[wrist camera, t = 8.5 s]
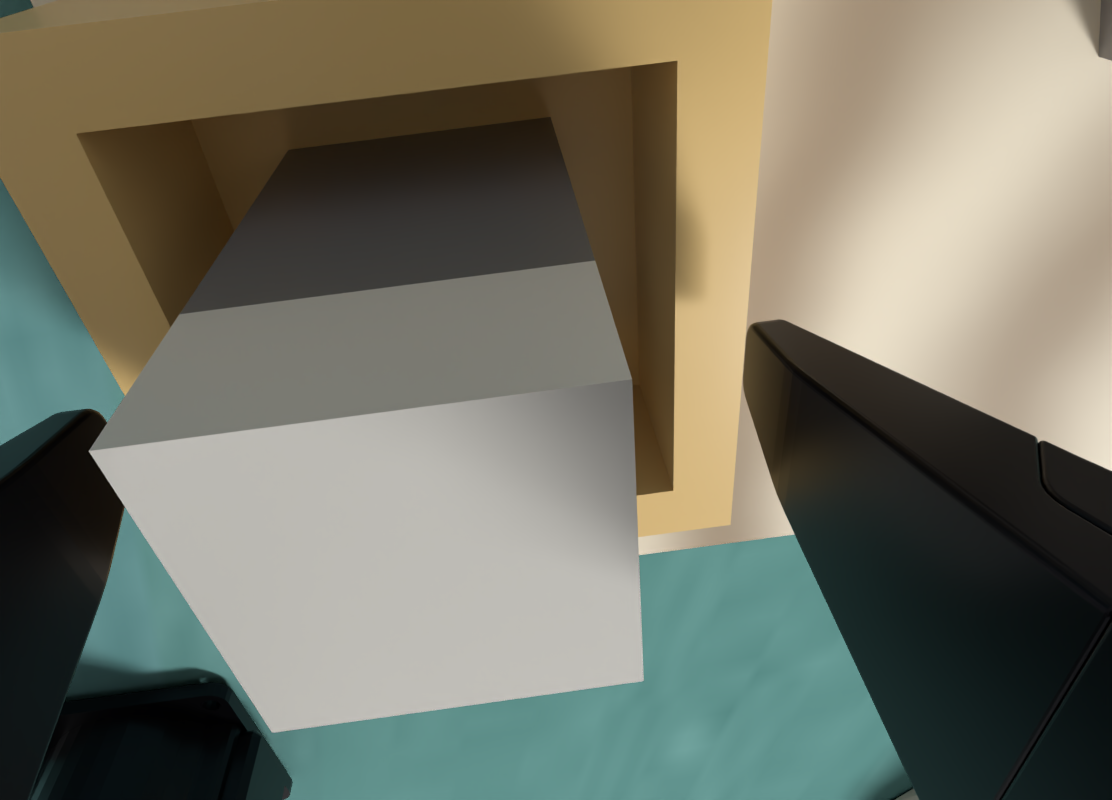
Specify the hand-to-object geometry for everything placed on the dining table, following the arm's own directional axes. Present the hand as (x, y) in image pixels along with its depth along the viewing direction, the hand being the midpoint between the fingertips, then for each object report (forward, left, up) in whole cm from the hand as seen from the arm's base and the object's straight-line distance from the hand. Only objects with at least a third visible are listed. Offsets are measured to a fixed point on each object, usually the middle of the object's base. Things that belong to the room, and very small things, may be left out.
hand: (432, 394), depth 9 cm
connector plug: (0, 0, -4) cm, 4 cm away
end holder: (0, 0, -5) cm, 5 cm away
